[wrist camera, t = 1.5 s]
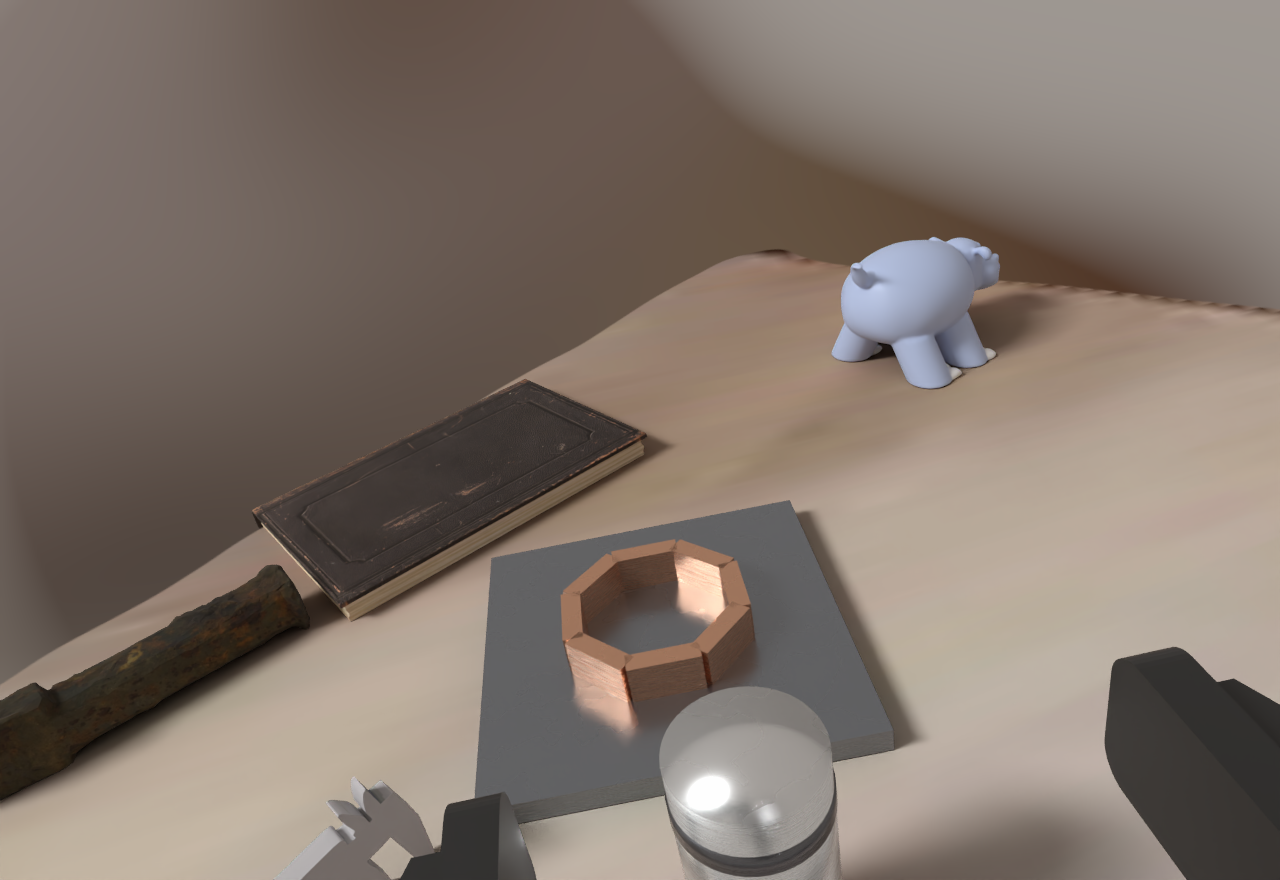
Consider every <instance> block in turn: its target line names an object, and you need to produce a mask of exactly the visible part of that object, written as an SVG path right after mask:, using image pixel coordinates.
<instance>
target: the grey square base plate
mask: <svg viewBox="0 0 1280 880" xmlns="http://www.w3.org/2000/svg"><path fill="white" fill-rule="evenodd" d="M744 686H754V687H764V688H770V689H774V690H778V691H781V692H784V693H786V694H789V695H791V696H793V697H795V698H797V699H799V700H800V701H802V702H803V703H805V704H806V705H807V706H808V707H810V708H811V709H812V710H813V711H814V712H815V713H816V714H817V716H818V717H819V718H820V720H821V721H822V723H823V724H824V726H825V728H826V730H827V732H828V735H829V739H830V743H831V752H832V762H834V761H839V760H844V759H849V758H854V757H859V756H865V755H870V754H875V753H880V752H885V751H890V750H894V730H893V728H892V726H891V723H890V721H889V719H888V717H887V715H886V712H885V710H884V708H883V706H882V704H881V701H880V699H879V697H878V695H877V692H876V690H875V688H874V686H873V684H872V681H871V679H870V677H869V675H868V673H867V670H866V668H865V666H864V664H863V661H862V659H861V657H860V655H859V653H858V650H857V648H856V646H855V644H854V642H853V639H852V637H851V635H850V633H849V631H848V628H847V626H846V624H845V622H844V619H843V617H842V615H841V613H840V611H839V608H838V606H837V604H836V602H835V600H834V597H833V595H832V593H831V591H830V589H829V586H828V584H827V582H826V580H825V577H824V575H823V573H822V571H821V569H820V566H819V564H818V562H817V560H816V558H815V555H814V553H813V551H812V549H811V546H810V544H809V542H808V540H807V538H806V535H805V533H804V531H803V529H802V527H801V524H800V522H799V520H798V518H797V516H796V513H795V511H794V509H793V507H792V504H791V502H790V500H788V501H783V502H778V503H773V504H768V505H763V506H757V507H752V508H747V509H742V510H737V511H732V512H726V513H721V514H716V515H711V516H706V517H701V518H696V519H690V520H685V521H680V522H675V523H670V524H665V525H659V526H654V527H649V528H644V529H639V530H634V531H629V532H623V533H618V534H613V535H608V536H603V537H598V538H592V539H587V540H582V541H577V542H572V543H567V544H562V545H556V546H551V547H546V548H541V549H536V550H531V551H526V552H520V553H515V554H510V555H505V556H500V557H495V558H492V560H491V574H490V588H489V602H488V617H487V631H486V645H485V659H484V673H483V687H482V701H481V715H480V730H479V744H478V758H477V772H476V786H475V798H479V797H483V796H488V795H492V794H497V793H502V792H505V793H506V794H507V796H508V798H509V800H510V803H511V806H512V808H513V811H514V814H515V817H516V819H517V822H518V824H519V823H524V822H529V821H534V820H539V819H544V818H549V817H554V816H559V815H564V814H569V813H575V812H580V811H585V810H590V809H595V808H600V807H605V806H610V805H615V804H620V803H625V802H631V801H636V800H641V799H646V798H651V797H656V796H661V795H665V788H664V783H663V779H662V775H661V770H660V763H659V753H660V746H661V743H662V739H663V737H664V734H665V732H666V730H667V729H668V727H669V725H670V724H671V722H672V721H673V720H674V719H675V717H676V716H677V715H678V714H679V713H680V712H681V711H682V710H683V709H685V708H686V707H687V706H688V705H690V704H691V703H693V702H694V701H696V700H698V699H699V698H701V697H703V696H706V695H708V694H710V693H713V692H716V691H719V690H723V689H727V688H733V687H744Z"/></svg>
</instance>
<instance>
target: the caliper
mask: <svg viewBox="0 0 1280 880" xmlns="http://www.w3.org/2000/svg"><path fill="white" fill-rule="evenodd" d="M351 790H352V794H353V798H354V800H355V801H356V802H357V803H358V804H359V806H360V807H359V808H358V809H357V808H356V807H355V806H354V805H353V804H351V803H349V802H347V801H338V800H329V801H327V802H326V804H327V805H328V806H329V808H330V809H331V810H332V811H333V812H334V814H335V815H336V816H337V817H338V818H339V819H340V820H341V822H342V823H343V825H342V826H341V827H339V828H338V829H337V830H335V828H334V827H332V826H329V827H328V828H327V829H325V830H324V831H323V832H322V833H321V834H320V835H319V836H318V837H317V838H316V839H315V840H314V841H313V842H312V843H311V844H309V845H308V846H307V847H306V848H305V849H304V850H303V851H302V852H301V853H300V854H299V855H298V856H297V857H296V858H295V859H294V860H293V861H292V862H291V863H290V864H289V865H288V866H287V867H286V868H285V869H284V870H283V871H282V872H281V873H279V874H278V875H277V876H276V877H275V878H274V879H273V880H391V879H390V878H389V876H388V875H387V874H386V873H385V872H384V871H383V869H382V868H380V867H379V866H378V865H377V864H376V863H374V862H373V861H372V860H371V859H370V858H371V857H372V856H373V855H374V854H375V853H376V852H377V851H378V850H379V849H380V848H381V847H382V846H383V845H384V844H385V843H386V841H387V840H388V839H389V838H390V837H391V838H392V839H393V840H395V841H396V842H397V843H398V844H399V845H401V846H402V847H403V848H404V849H405V850H406V851H408V852H409V853H410V854H411V855H412V856H414V857H418V856H423V855H427V854H432V853H435V851H434V849H433V846H432V844H431V842H430V839H429V837H428V835H427V833H426V830H425V828H424V826H423V824H422V821H421V819H420V817H419V815H418V814H417V813H416V812H415V811H414V810H413V809H412V808H411V807H410V806H409V805H408V803H407V802H406V801H404V800H403V799H402V798H401V797H400V796H399V795H398V794H396V793H395V792H394V791H393V790H392V789H391V788H390V787H388V786H387V785H386V784H385V783H384V782H383V781H382V780H380V781H378V782H377V783H376V784H375V785H374V786H373V787H372V788H371V789H369V790H367V789H366V788H365V787H364V786H363V785H362V784H361V783H360V782H359V781H358V780H357V779H356V778H355V777H354V776H353V778H352V780H351Z"/></svg>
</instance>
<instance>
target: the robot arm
mask: <svg viewBox="0 0 1280 880" xmlns="http://www.w3.org/2000/svg"><path fill="white" fill-rule="evenodd" d="M1105 750H1106V755H1107V759H1108V762H1109V765H1110V768H1111V770H1112V773H1113V775H1114V777H1115V779H1116V781H1117V783H1118V785H1119V787H1120V788H1121V790H1122V791H1123V793H1124V794H1125V795H1126V797H1127V798H1128V799H1129V801H1130V802H1131V804H1132V805H1133V806H1134V808H1135V809H1136V811H1137V812H1138V813H1139V815H1140V816H1141V817H1142V819H1143V820H1144V822H1145V823H1146V824H1147V826H1148V827H1149V828H1150V830H1151V831H1152V833H1153V834H1154V835H1155V837H1156V838H1157V839H1158V841H1159V842H1160V844H1161V845H1162V846H1163V848H1164V849H1165V851H1166V852H1167V853H1168V855H1169V856H1170V857H1171V859H1172V860H1173V862H1174V863H1175V864H1176V866H1177V867H1178V868H1179V870H1180V871H1181V873H1182V874H1183V875H1184V877H1185V878H1186V879H1187V880H1280V704H1278V703H1276V702H1274V701H1272V700H1271V699H1269V698H1267V697H1265V696H1264V695H1262V694H1260V693H1258V692H1257V691H1255V690H1253V689H1251V688H1249V687H1248V686H1246V685H1244V684H1242V683H1241V682H1239V681H1237V680H1235V679H1230V680H1225V681H1221V682H1216V681H1215V680H1214V679H1213V678H1212V677H1211V676H1210V675H1209V674H1208V673H1207V672H1206V671H1205V670H1204V668H1203V667H1202V666H1201V665H1200V664H1199V663H1198V662H1197V661H1196V660H1195V659H1194V658H1193V657H1192V656H1191V655H1190V654H1189V653H1187V652H1186V651H1184V650H1183V649H1181V648H1178V647H1171V648H1166V649H1162V650H1157V651H1152V652H1148V653H1143V654H1139V655H1134V656H1130V657H1125V658H1121V659H1118V660H1116V661H1115V662H1114V664H1113V666H1112V671H1111V681H1110V691H1109V701H1108V711H1107V721H1106V731H1105ZM400 880H536V875H535V871H534V867H533V864H532V861H531V858H530V856H529V853H528V850H527V847H526V844H525V842H524V839H523V836H522V833H521V831H520V828H519V825H518V822H517V819H516V817H515V814H514V811H513V808H512V806H511V803H510V800H509V798H508V796H507V794H506V793H505V792H502V793H497V794H492V795H488V796H483V797H479V798H474V799H470V800H465V801H461V802H456V803H452V804H448V805H447V807H446V809H445V813H444V821H443V832H442V844H441V852H436V853H432V854H427V855H423V856H418V857H414V858H411V860H410V861H409V863H408V865H407V867H406V869H405V871H404V873H403V875H402V877H401V879H400Z"/></svg>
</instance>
